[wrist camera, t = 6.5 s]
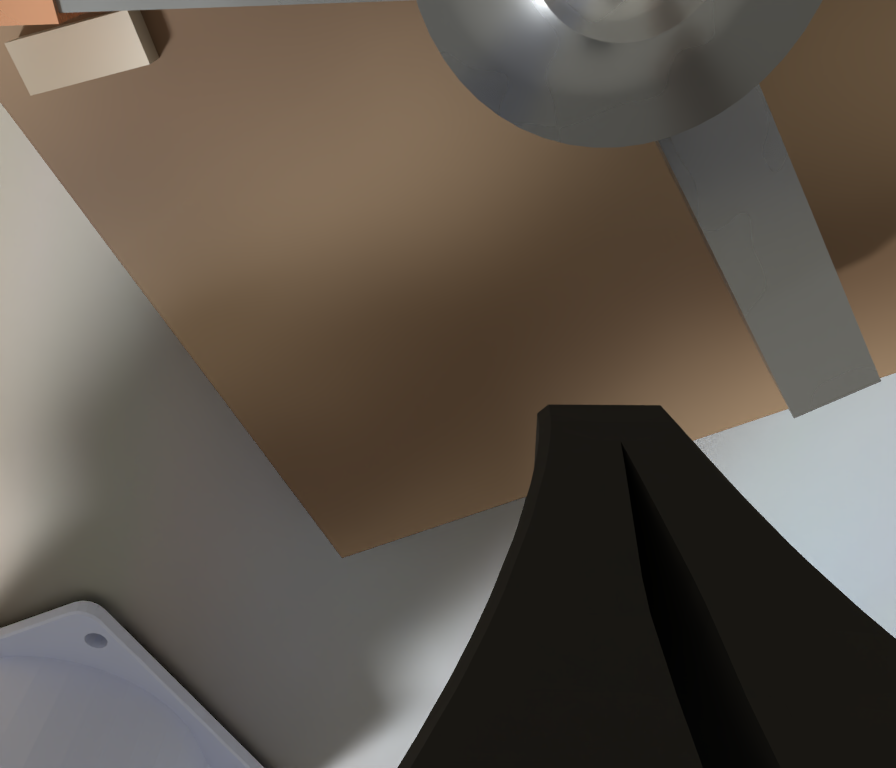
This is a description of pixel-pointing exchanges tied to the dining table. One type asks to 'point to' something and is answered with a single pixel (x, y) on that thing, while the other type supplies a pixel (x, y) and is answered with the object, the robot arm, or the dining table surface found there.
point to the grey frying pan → (654, 138)
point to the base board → (429, 239)
